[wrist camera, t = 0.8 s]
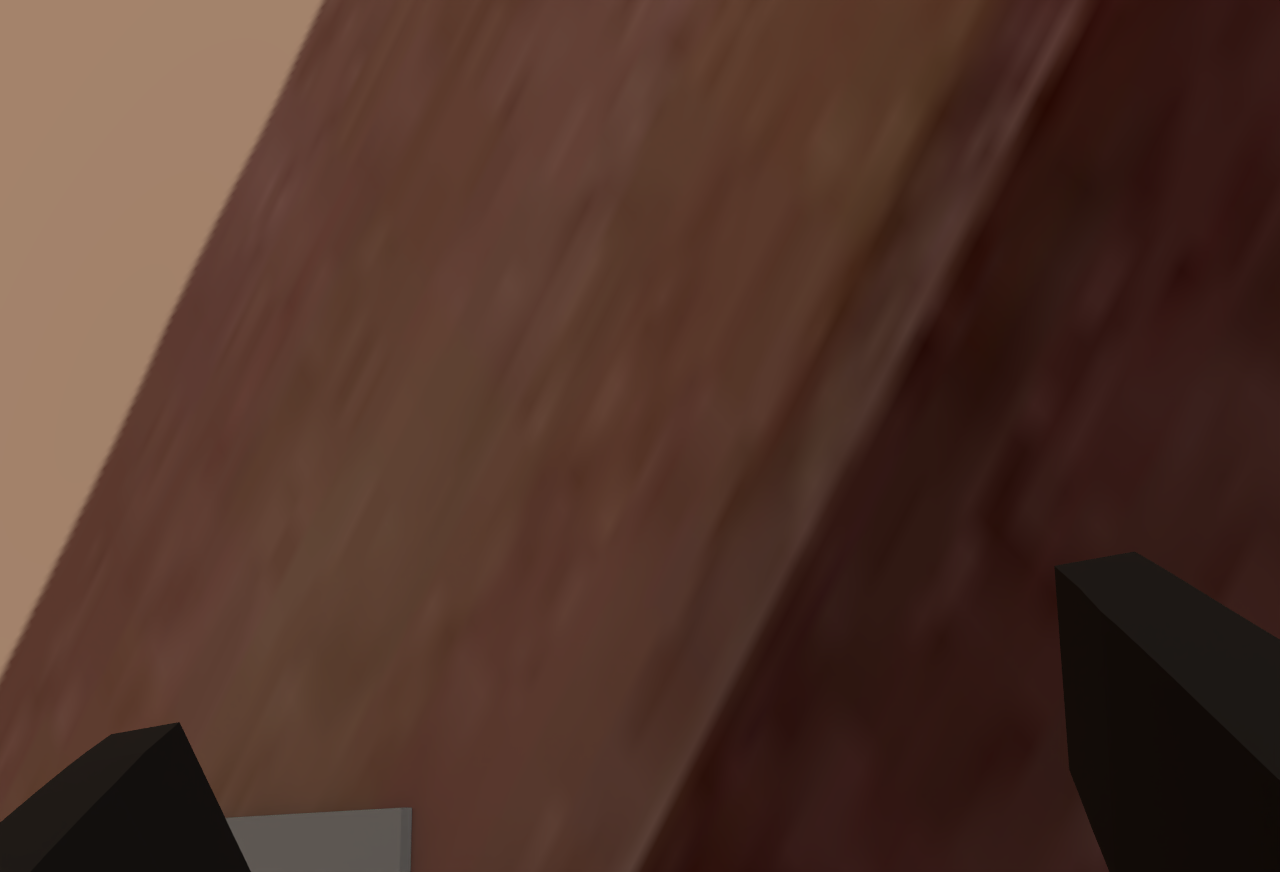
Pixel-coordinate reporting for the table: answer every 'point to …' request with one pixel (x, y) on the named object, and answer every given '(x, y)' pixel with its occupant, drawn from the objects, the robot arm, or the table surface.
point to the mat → (326, 841)
